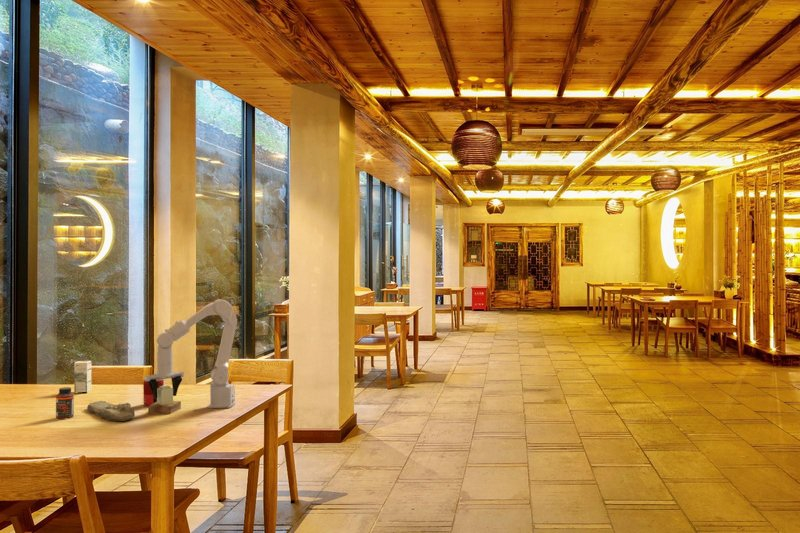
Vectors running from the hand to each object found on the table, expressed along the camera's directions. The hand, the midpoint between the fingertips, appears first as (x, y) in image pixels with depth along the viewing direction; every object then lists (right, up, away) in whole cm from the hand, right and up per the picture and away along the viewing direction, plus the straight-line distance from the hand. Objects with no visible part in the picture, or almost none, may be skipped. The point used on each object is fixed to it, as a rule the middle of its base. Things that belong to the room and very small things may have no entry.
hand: (164, 397), depth 236 cm
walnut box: (0, -6, 0) cm, 6 cm away
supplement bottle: (-34, -6, -10) cm, 36 cm away
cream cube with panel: (0, -3, 0) cm, 3 cm away
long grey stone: (-20, -6, -5) cm, 21 cm away
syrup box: (-54, -7, +39) cm, 67 cm away
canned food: (-10, -6, +12) cm, 17 cm away
